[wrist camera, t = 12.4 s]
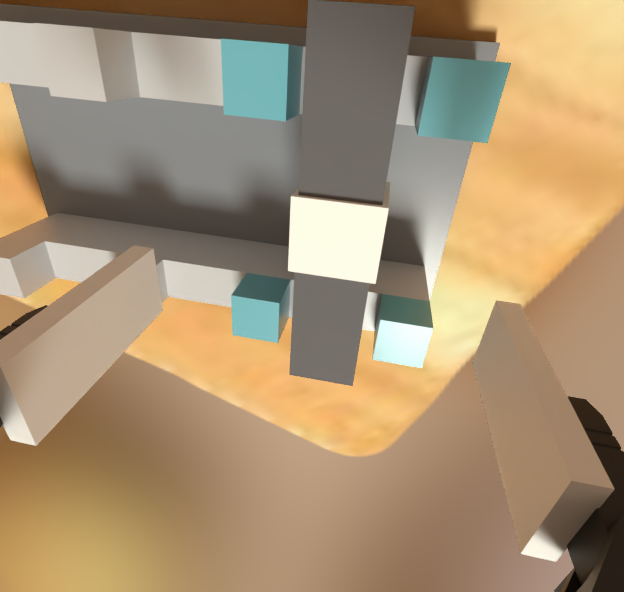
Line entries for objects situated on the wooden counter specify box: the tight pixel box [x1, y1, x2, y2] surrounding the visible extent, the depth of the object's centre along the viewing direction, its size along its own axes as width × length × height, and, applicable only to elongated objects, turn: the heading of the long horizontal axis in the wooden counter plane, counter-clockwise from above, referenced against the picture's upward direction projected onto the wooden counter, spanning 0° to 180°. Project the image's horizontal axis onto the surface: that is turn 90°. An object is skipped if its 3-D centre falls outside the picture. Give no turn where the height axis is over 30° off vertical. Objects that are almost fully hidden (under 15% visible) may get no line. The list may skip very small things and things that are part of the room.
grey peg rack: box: [0, 3, 511, 368], centre depth 25 cm, size 18×32×9 cm, turn 86°
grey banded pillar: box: [288, 0, 415, 386], centre depth 21 cm, size 19×5×5 cm, turn 176°
